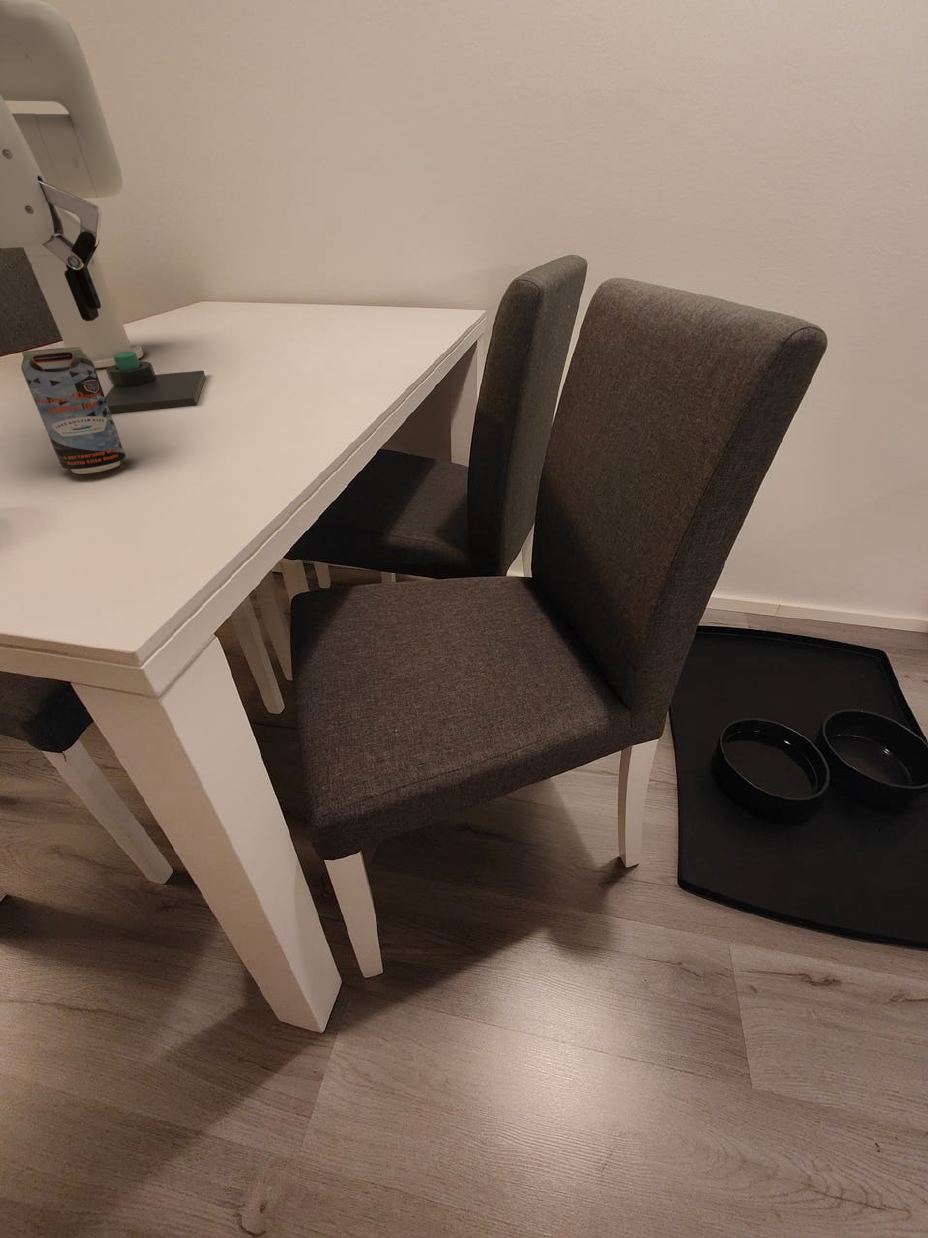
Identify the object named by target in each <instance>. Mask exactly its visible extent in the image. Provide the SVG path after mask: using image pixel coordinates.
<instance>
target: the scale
mask: <svg viewBox="0 0 928 1238" xmlns="http://www.w3.org/2000/svg"><path fill="white" fill-rule="evenodd" d="M139 363H140V366H141V367H139V368H135V369H130V370H118V368H117V365H113V366H110V367H106V369H105V370H106V375H107V376H108V379H109V381H110V384H111V385H112V387H111V388H110V390H109V392H108V393H107V394H106V395H105V399H106V401H107V404H108V407H109V410H110V413H111V415H112V414H121V413H130V412H131V413H132V412H143V411H152V410H160V409H169V408H170V409H172V408H181V407H191V406H192V407H193V406H197V404H198V400H199V397H200V394H201V391H202V388H203V385H204V382H205V379H206V375H205V370H194V371H193V370H192V371H181V372H172V373H171V372H170V373H160V374H159V373H158V374H156V373H155V370H154V369H155V368H154V367H153V364H152V362H149V361H147V360H145V361H144V360H139Z"/></svg>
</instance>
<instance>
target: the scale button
mask: <svg viewBox="0 0 928 1238" xmlns="http://www.w3.org/2000/svg"><path fill="white" fill-rule="evenodd" d="M113 358H114V360H115V363H116V365H117V368H118V370H130V369H135V368H139V367H141V366H140V363H139V361H140V360H139V359H138V358H137V355H136V353H135V352H122V353H117V354H115V355H113Z"/></svg>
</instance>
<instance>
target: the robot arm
mask: <svg viewBox="0 0 928 1238" xmlns="http://www.w3.org/2000/svg"><path fill="white" fill-rule="evenodd" d="M82 48H83V47H82V46H81V44H80V41H79V39H78V36H77V34H76V32H75V31H74V29H73V27H72V25H71V23H70V22H69V20H68V19H67V18H66V16H65V15H64V14H63V13H62V11H61V10H59V9H58V8H57V7H56V6H54V5H52V4H50V3H48V2H44V1H40V0H0V249H14V248H15V249H16V248H17V249H18V248H23V250H24V253H25V255H26V257H27V260H28V262H29V265H30V267H31V269H32V271H33V274H34V276H35V278H36V281H37V284H38V286H39V288H40V291H41V292H42V294H43V297H44V300H45V302H46V304H47V307H48V309H49V311H50V313H51V315H52V318H53V321H54V322H55V323H54V324H55V325H56V328H57V330H58V333H59V335H60V337H61V339H62V342H63V344H64V346H65V348H70V347H81V350H82V352H83V353H84V354H85V355H86V356H87V357H89V358H90V359H91V361H92V362H93V364H94V367H95V369H104V368H108V367H110V366H113V365H116V363H115V360H114V358H113V355H115V354H117V353H122V352H135V353H136V355H137V358H138V360H139V359H141V358H143V356H144V350H143V348H142V347H141V346H140V345H137V344H132V343H131V342H130V340H129V337H128V334H127V331H126V329H125V326H124V323H123V321H122V318H121V315H120V312H119V309H118V306H117V304H116V301H115V299H114V295H113V293H112V290H111V286H110V285H109V282H108V279H107V276H106V274H105V270H104V268H103V264H102V262H101V259H100V257H99V254H98V251H97V249H98V246H99V245H100V233H101V225H102V216H103V213H102V210H101V208H100V207H99V206H98V205H97V204H94V203H93V202H90V201H87V200H85V199H100V198H103V199H104V198H111V197H115V196H118V195H119V194H120V193H121V191H122V189H123V183H124V182H123V176H122V174H123V173H122V170H121V166H120V163H119V159H118V155H117V152H116V149H115V146H114V143H113V139H112V135H111V134H110V131H109V128H108V124H107V121H106V118H105V115H104V111H103V109H102V105H101V102H100V99H99V96H98V93H97V90H96V87H95V84H94V81H93V77H92V74H91V71H90V68H89V66H88V62H87V60H86V57H85V53H84V51H83V49H82ZM9 101H10V102H51V103H53V102H54V103H57V104H59V105H61V106H62V107H63V108H64V109H65V110H66V111H67V112H68V113H27V112H26V113H23V112H22V113H19V112H17V113H12V112H11V110H10V108H9V106H8V104H7V103H6V102H9ZM70 213H72V214H73V215H74V216H77V218H78V219H79V221H78V220H77V219H76V218H75V217H74V216H73V215H72V214H70Z"/></svg>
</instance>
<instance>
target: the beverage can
mask: <svg viewBox="0 0 928 1238" xmlns="http://www.w3.org/2000/svg"><path fill="white" fill-rule="evenodd" d="M21 355H22V357H23V358H22V361H21V365H20V369H21V372H22V375H23V377H24V379H25V382H26V384H27V387H28V389H29V392H30V394H31V396H32V399H33V401H34V403H35V406H36V409H37V411H38V413H39V416H40V418H41V420H42V424H43V426H44V428H45V430H46V432H47V435H48V437H49V440H50V442H51V445H52V447H53V450H54V452H55V455H56V457H57V459H58V462H59V465H60V467H61V468H63V469H65V470H70V471H71V472H72V473H73V474H78V475H79V474H92V473H100V472H105V471H108V470H112V469H115V468H117V467H119V466H120V465H121V461H122V460H124V459H126V452H125V450H124V448H123V444H122V442H121V441H122V440H121V438H120V436H119V432H118V429H117V427H116V424H115V421H114V419H113V415H112V414H111V413H110V410H109V407H108V404H107V401H106V399H105V397H106V395H105V393H104V390H103V387H102V384H101V381H100V379H99V376H98V373H97V370H96V368H95V367H94V364H93V362H92V361H91V359H90V358H89V357H87V356H86V355H85V354H84V353H83V352H82V350H81V347H70V348H66V347H57V348H47V349H36V350H35V349H34V350H28V351H27V350H26V351H21Z"/></svg>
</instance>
